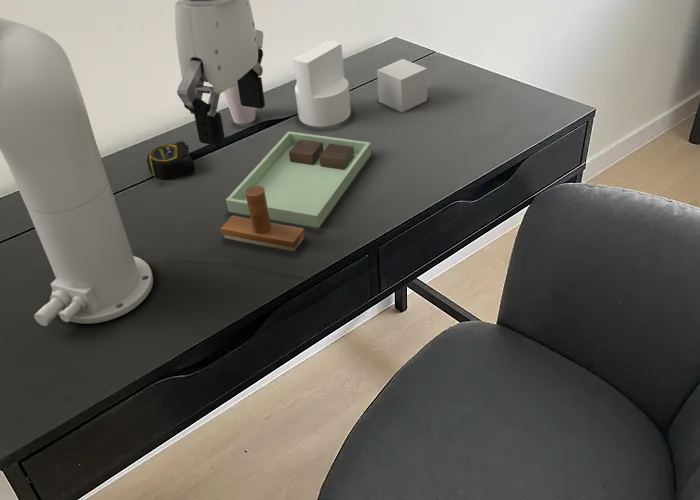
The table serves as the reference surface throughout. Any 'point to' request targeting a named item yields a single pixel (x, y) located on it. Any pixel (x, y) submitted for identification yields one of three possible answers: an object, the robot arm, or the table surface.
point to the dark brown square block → (306, 152)
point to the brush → (261, 225)
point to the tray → (299, 182)
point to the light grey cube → (402, 85)
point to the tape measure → (170, 161)
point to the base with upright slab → (322, 86)
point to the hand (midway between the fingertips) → (233, 124)
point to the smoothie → (238, 106)
